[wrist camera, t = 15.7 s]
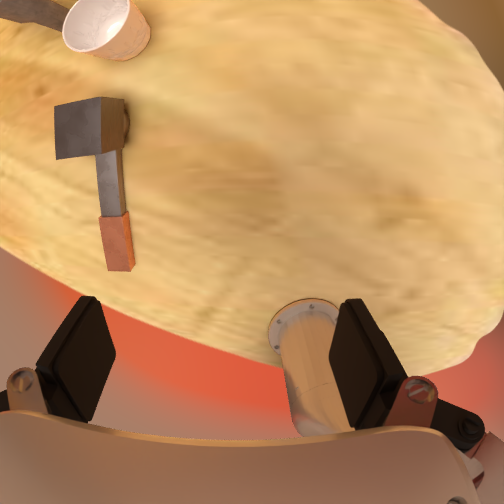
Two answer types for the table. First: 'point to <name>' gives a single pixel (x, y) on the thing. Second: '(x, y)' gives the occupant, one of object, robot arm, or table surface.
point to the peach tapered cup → (106, 29)
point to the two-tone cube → (89, 127)
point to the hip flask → (34, 12)
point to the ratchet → (114, 209)
